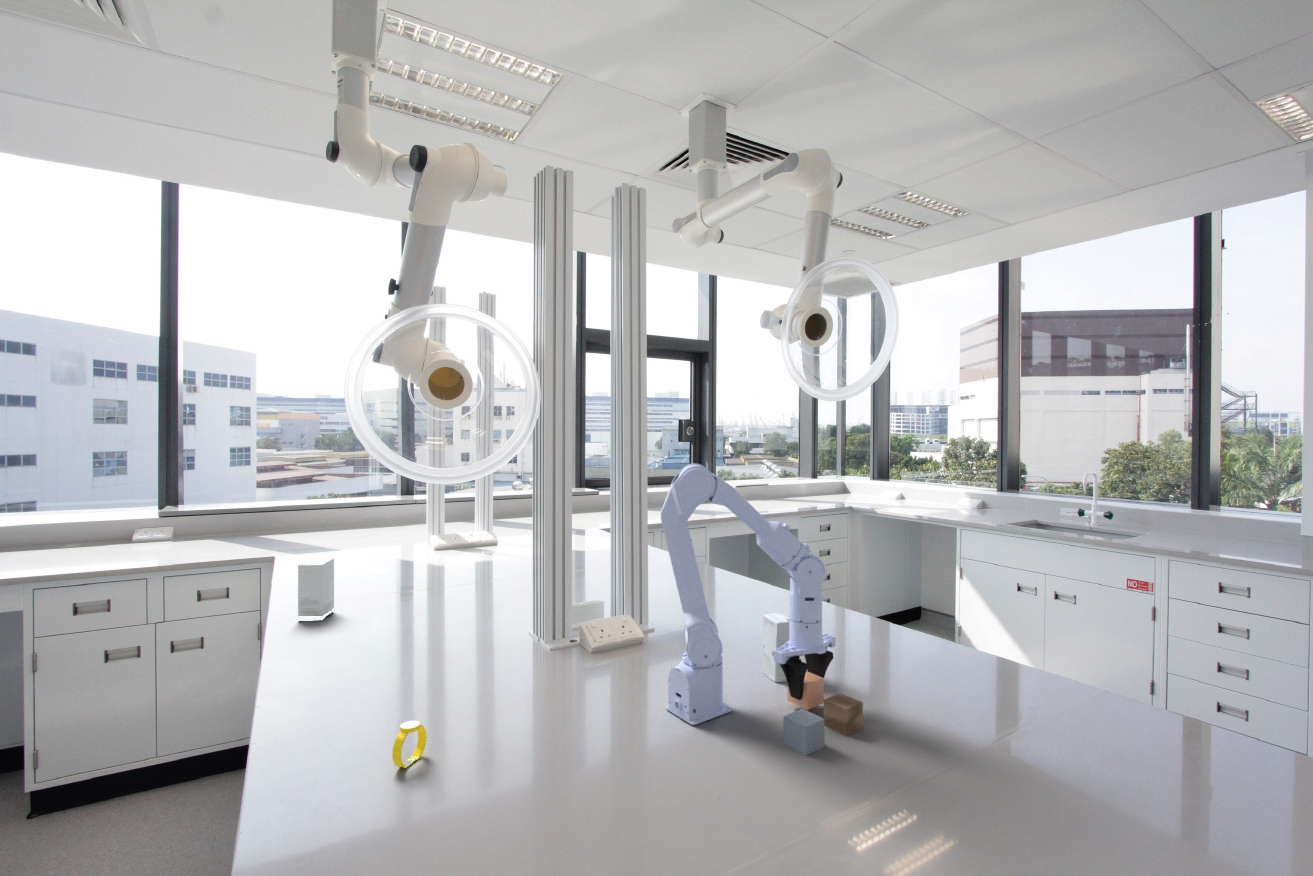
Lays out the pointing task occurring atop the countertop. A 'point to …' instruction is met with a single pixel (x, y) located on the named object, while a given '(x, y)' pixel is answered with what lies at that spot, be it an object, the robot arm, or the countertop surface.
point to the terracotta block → (810, 692)
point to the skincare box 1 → (316, 587)
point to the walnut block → (843, 714)
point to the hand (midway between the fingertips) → (805, 694)
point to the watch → (404, 730)
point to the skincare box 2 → (774, 644)
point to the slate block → (804, 731)
